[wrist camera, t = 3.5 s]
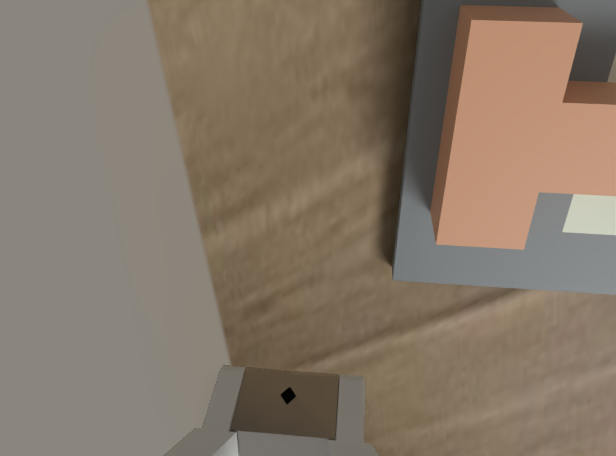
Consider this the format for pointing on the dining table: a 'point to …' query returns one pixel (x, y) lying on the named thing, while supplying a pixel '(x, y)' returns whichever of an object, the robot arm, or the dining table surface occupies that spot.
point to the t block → (517, 126)
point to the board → (550, 206)
